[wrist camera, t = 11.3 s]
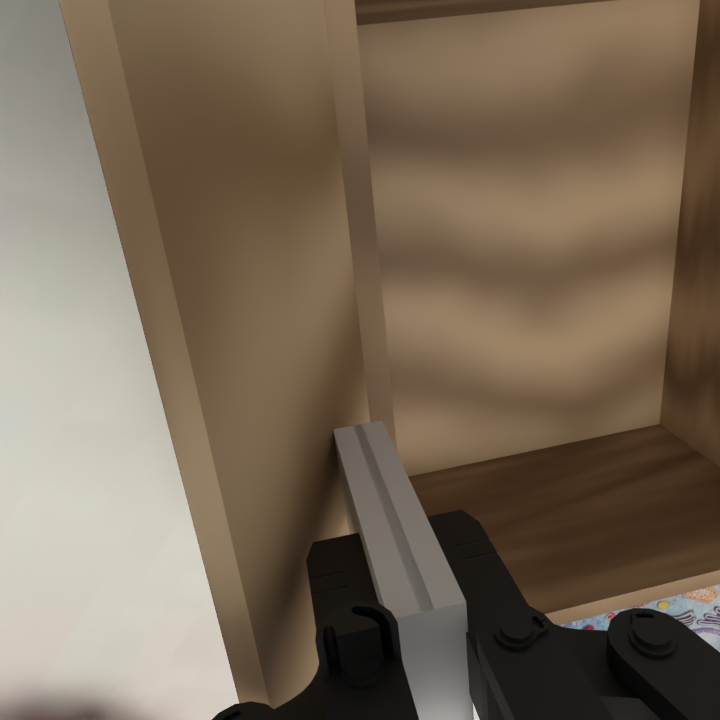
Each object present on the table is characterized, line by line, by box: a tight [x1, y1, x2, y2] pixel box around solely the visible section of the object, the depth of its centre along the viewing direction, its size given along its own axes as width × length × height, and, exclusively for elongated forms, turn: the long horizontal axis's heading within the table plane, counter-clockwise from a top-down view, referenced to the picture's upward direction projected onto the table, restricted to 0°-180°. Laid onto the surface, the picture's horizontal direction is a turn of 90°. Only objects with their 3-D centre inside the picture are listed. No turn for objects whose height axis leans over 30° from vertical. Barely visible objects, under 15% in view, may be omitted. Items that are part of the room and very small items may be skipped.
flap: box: [59, 0, 370, 709], centre depth 15 cm, size 23×10×1 cm
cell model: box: [559, 584, 720, 652], centre depth 38 cm, size 13×11×20 cm
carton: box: [323, 0, 720, 625], centre depth 27 cm, size 24×20×12 cm
